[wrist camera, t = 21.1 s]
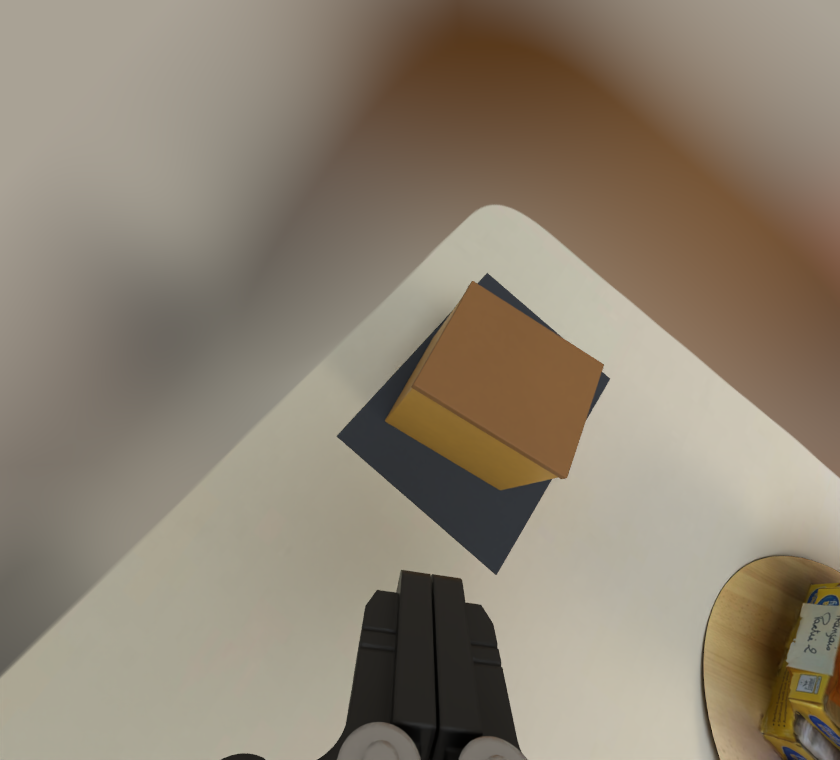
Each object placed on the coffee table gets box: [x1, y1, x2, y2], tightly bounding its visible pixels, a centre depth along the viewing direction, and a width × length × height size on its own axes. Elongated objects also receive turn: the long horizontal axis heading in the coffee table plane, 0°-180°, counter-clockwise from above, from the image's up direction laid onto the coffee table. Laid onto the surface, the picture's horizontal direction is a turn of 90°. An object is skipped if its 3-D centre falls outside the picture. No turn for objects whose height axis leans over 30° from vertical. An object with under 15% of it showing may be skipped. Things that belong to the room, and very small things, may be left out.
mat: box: [337, 273, 610, 575], centre depth 37 cm, size 16×22×1 cm
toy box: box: [385, 281, 604, 490], centre depth 32 cm, size 9×11×9 cm
